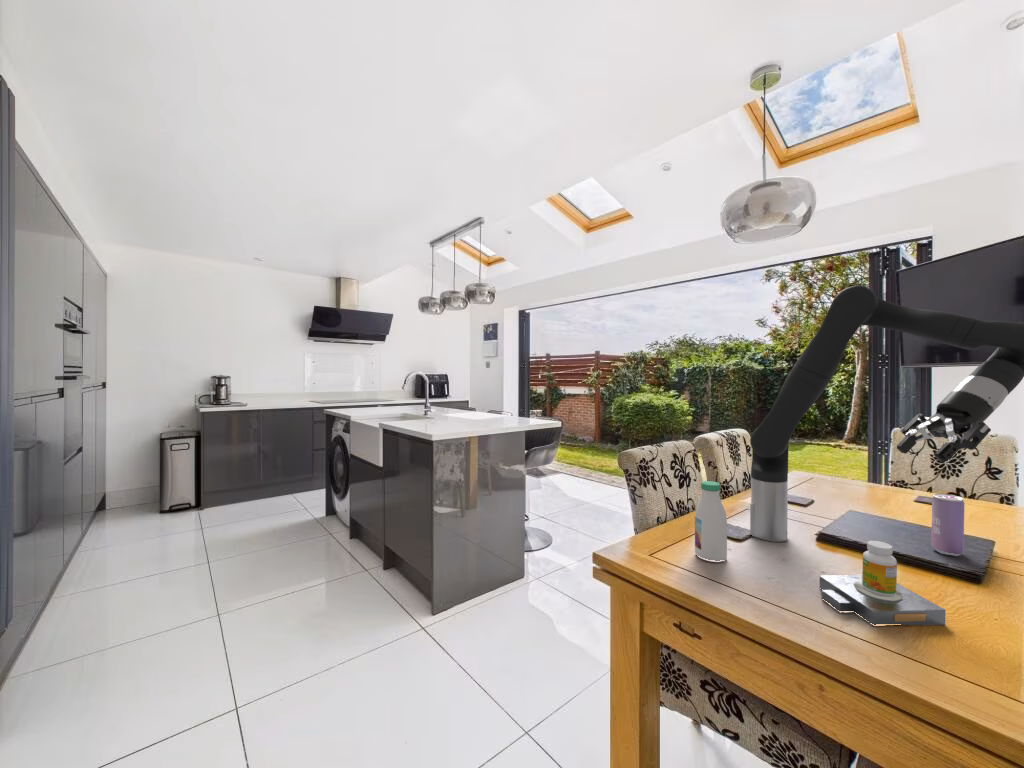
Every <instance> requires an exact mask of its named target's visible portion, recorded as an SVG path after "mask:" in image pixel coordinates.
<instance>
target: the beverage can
mask: <svg viewBox="0 0 1024 768" xmlns="http://www.w3.org/2000/svg"><path fill="white" fill-rule="evenodd" d="M930 540H931V541H930V542H931V544H930V545H931V546H932V547H933V548H935V549H938V550H941V551H944V552H948V553H954V554H961V553H963V552H964V551H965V547H964V546H965V544H964V543H965V501H964V498H962V497H961V496H957V495H953V494H947V493H935V494H933V497H932V499H931V539H930ZM931 546H930V547H931ZM932 547H931V548H932ZM963 554H964V553H963Z"/></svg>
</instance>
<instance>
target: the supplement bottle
mask: <svg viewBox="0 0 1024 768" xmlns="http://www.w3.org/2000/svg"><path fill="white" fill-rule="evenodd" d="M866 548H867V550H866V551H864V552H863V553H862V574H861V575H862V585H863V587H864V588H865V589H866V590H868V591H870V592H872V593H875V594H878V595H882V596H894V595H895V594H896V585H897V581H898V580H897V579H898V578H897V577H898V576H897V575H898V561H897V558H895V557H894V556H893V553H894V551H893V546H892V545H891V544H889V543H887V542H883V541H879V540H868V541H867V544H866Z"/></svg>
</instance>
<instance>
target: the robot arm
mask: <svg viewBox="0 0 1024 768" xmlns="http://www.w3.org/2000/svg"><path fill="white" fill-rule="evenodd" d="M861 326H867V327H875V328H876V327H877V328H883V329H887V330H892V331H897V332H901V333H904V334H909V335H912V336H914V337H915V336H916V337H919V338H923V339H926V340H930V341H933V342H937V343H939V344H940V343H941V344H945V345H948V346H952V347H956V348H960V349H964V350H967V351H968V350H970V351H974V350H979V349H980V348H982V347H985V346H986V347H994V348H995V347H997V348H996V349H995V350H994V352H993V353H992V354H991V355H990V356H989V357H988V358H987V359H986V360H985V361H984V362H981V364H979V365H978V366H977V367H976V368H975V369H974V370H973V371H972V372H971V373H970V374H969V375H968V376H966V377H965V379H964V380H962V381H961V382H960V383H958V384H957V385H956V386H955V387H954V388H953V389H952V390H951V391H950V392H949V393H948V394H947V395H946V396H945V397H944V398H943V399H942V400H941V401H940V402H939V403H938V404H937V406H936V411H935V413H934V414H932V416H931V415H930V416H929V417H928V416H924V415H923V413H918V414H916V415H915V416H914V417H912V419H910V420H909V422H907V424H906V425H904V426H903V427H902V428H901V429H900V432H901V434H902V435H904V437H903V438H902V440H901V441H899V443H897V444H896V449H897V450H898V451H899V452H900V453H901V454H907V453H908V452H909V451H910V450H912V448H913V447H914V446H915V445H916V444H917V443H918V442H920V441H922V440H925V439H926V440H930V439H932V438H944V439H947V440H948V442H945V443H943V444H942V446H941V447H940V448H939V449H938V450H937V451H936V452H935V453H934V457H935V458H936V459H937V461H939V462H942V463H946V462H947V461H948V460H950V459H951V458H953V456H954V455H955V454H956V453H957V452H959V451H963V450H964V449H968V450H969V451H970V450H971V451H972V450H975V449H976V448H977V447H978V445H980V444H981V442H982V441H983V440H984V439H985V438H986V436H988V435H989V433H990V432H991V430H992V429H991V428H990V427H989V426H988V424H986V422H985V421H986V420H987V419H988V418H989V417H990V416H991V415H992V414H993V413H994V412H995V411H996V410H997V409H998V408H999V407H1000V406H1001V404H1002V403H1003V402H1004V401H1005V399H1006V398H1007V396H1008V395H1009V394H1010V393H1012V391H1013V390H1015V389H1016V388H1017V387H1018V385H1019V384H1020V383H1021V382H1022V380H1023V379H1024V322H1022V321H1004V320H984V319H980V318H976V317H973V316H972V317H970V316H966V315H962V314H959V313H953V312H948V311H947V312H946V311H939V310H932V309H924V308H923V309H922V308H918V307H917V308H916V307H909V306H905V305H900V304H896V303H893V302H890V301H887V300H884V299H882V298H880V297H877V295H876V294H875V292H874V291H873V290H872V289H871V288H869V287H867V286H864V285H852V286H848V287H846V288H844V289H842V290H841V291H839V292H838V293H837V294H836V295H835V297H834V298H833V300H832V302H831V304H830V306H829V308H828V310H827V312H826V315H825V317H824V319H823V321H822V323H821V325H820V327H819V329H818V331H817V332H816V333H815V335H814V336H813V338H812V339H811V341H810V342H809V343H808V344H807V346H806V347H805V349H804V351H802V353H801V355H800V356H799V357H798V359H797V360H796V362H795V363H794V365H793V367H792V368H791V370H790V372H789V374H788V375H787V376H786V378H785V380H784V382H783V383H782V386H781V388H780V390H779V393H778V395H777V397H776V400H775V402H774V404H773V406H772V407H771V409H770V411H769V412H768V413H767V415H766V416H765V417H764V419H763V420H762V422H760V424H759V425H758V427H756V428H755V429H754V430H753V432H752V433H751V435H750V439H749V443H750V447H751V449H752V450H751V451H752V452H751V453H752V454H751V455H752V457H751V468H750V469H751V470H750V477H751V478H750V486H751V487H750V491H751V493H750V494H751V495H750V501H751V502H750V505H749V508H750V509H749V510H750V511H749V514H750V516H749V519H750V521H749V529H750V530H749V531H750V532H749V533H750V534H751V535H752V536H751V537H754V538H757V539H760V540H763V541H765V542H775V543H781V542H786V541H787V540H788V515H789V514H788V512H789V511H788V508H789V507H788V506H789V505H788V501H789V500H788V498H789V496H788V486H789V485H788V482H789V481H788V479H789V475H788V474H789V442H790V440H791V438H792V435H793V434H794V432H795V429H796V428H797V426H798V424H799V423H800V421H801V420H802V419H803V417H804V416H805V415H806V414H807V412H808V411H809V410H810V409H811V407H813V406H814V404H815V403H816V401H817V400H818V399H819V398H820V396H821V395H822V394H823V392H824V391H825V389H826V388H827V386H828V385H829V384H830V382H831V379H832V378H833V377H834V375H835V373H836V371H837V370H838V368H839V365H840V363H841V361H842V357H843V355H844V352H845V350H846V348H847V346H848V344H849V342H850V341H851V339H852V338H853V336H854V335H855V333H856V332H857V331H858V329H859V328H860V327H861ZM926 428H927V431H928V432H927V431H926V430H925V429H926ZM971 439H972V440H971Z"/></svg>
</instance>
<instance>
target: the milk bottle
mask: <svg viewBox="0 0 1024 768" xmlns="http://www.w3.org/2000/svg"><path fill="white" fill-rule="evenodd" d="M700 491H701V496H700V499H699V501H698V503H697V505H696V507H695V514H694V552H695V553H696V554H697V555H698V556H700V557H702V558H705V559H708V560H715V561H720V560H725V559H726V560H727V558H728V524H727V523H728V520H727V519H728V518H727V511H726V509H725V507H724V504H723V503H722V500H721V497H720V493H721V484H720V483H719V482H717V481H712V480H711V481H710V480H705V481H704V480H703V481H701V483H700ZM695 553H694V554H695ZM696 554H695V555H696Z"/></svg>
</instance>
